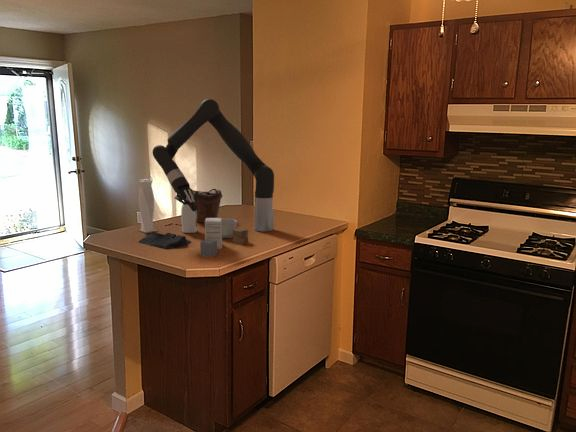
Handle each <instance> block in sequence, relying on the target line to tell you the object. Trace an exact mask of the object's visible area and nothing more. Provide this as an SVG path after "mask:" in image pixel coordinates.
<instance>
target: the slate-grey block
mask: <svg viewBox="0 0 576 432" xmlns="http://www.w3.org/2000/svg"><path fill="white" fill-rule="evenodd" d="M199 243H200V245H199V246H200V256H202V257H209V258H212V257H214V256H216V255H218V249H217V241H216V240H209V239H206V240H205V239H204V240H202V241H200V242H199Z"/></svg>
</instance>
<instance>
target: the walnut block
mask: <svg viewBox="0 0 576 432" xmlns="http://www.w3.org/2000/svg"><path fill="white" fill-rule="evenodd" d="M232 243H235V244H237V245H242V244H247V243H249V229H246V228H242V227H240V228H237V229H235V230H233V237H232Z"/></svg>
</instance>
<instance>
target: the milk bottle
mask: <svg viewBox="0 0 576 432" xmlns="http://www.w3.org/2000/svg"><path fill="white" fill-rule="evenodd" d="M191 201H192V200H191ZM180 215H181V216H180V217H181V221H180V222H181V232H182V233H185V234H193V233H197V231H198V222H197V210H196V211H194V212H193V211H192V210H191V208H190V207H189V206H188V205H184V204H182V205H181V213H180Z"/></svg>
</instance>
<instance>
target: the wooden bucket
mask: <svg viewBox="0 0 576 432" xmlns="http://www.w3.org/2000/svg"><path fill="white" fill-rule="evenodd" d="M192 190H193V189H192ZM193 192H198V198H197V201H196V202H195V204H196V206H197V207H198V209H197V223H205V219H206V218H218V215H219V210H220V206H221V200H222V198H223V194H222V190H221V189H216V188H212V189H210V190H209V191H200V190H193Z"/></svg>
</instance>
